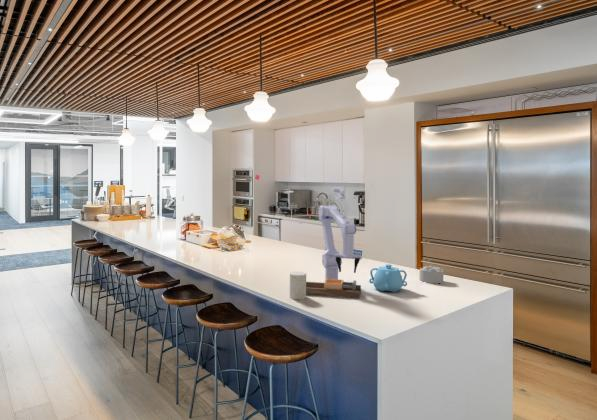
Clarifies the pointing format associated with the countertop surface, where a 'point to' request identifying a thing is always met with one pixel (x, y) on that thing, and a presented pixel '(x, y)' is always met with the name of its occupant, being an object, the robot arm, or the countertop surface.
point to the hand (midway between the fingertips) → (347, 272)
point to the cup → (297, 285)
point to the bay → (331, 290)
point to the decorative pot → (388, 278)
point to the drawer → (338, 284)
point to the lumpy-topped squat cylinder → (431, 274)
